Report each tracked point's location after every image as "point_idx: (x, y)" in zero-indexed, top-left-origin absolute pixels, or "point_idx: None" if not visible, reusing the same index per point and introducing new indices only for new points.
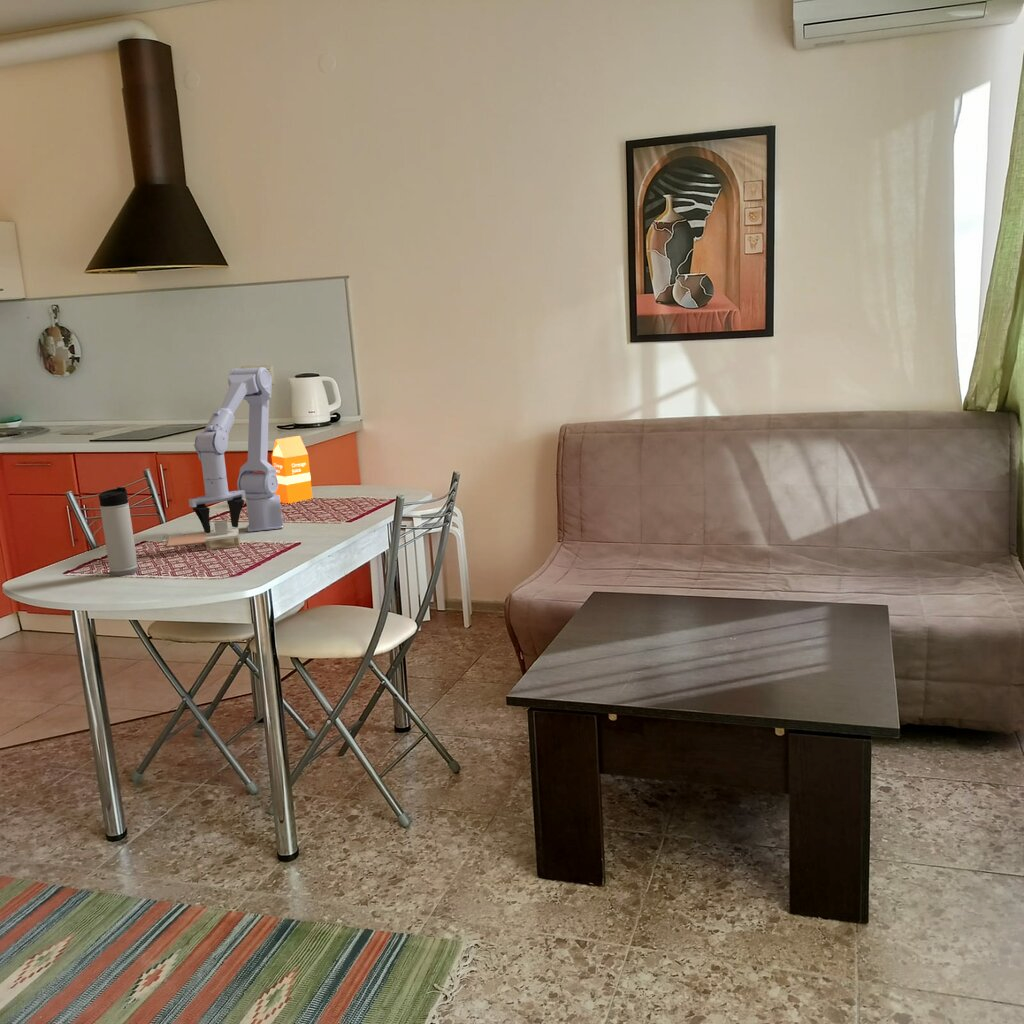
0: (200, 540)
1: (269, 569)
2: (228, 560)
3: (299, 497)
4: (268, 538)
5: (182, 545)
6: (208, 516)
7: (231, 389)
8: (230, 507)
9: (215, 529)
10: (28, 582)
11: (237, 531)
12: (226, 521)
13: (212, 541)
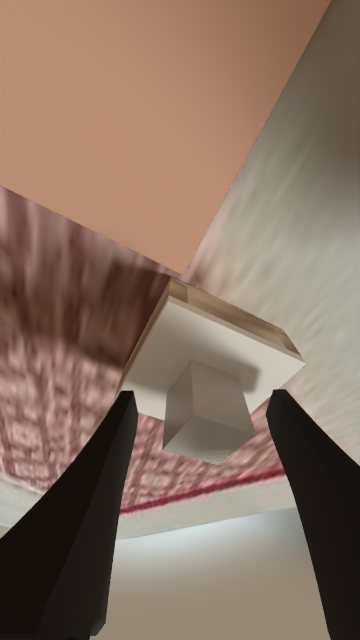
0: (155, 209)
1: (162, 518)
2: (133, 465)
3: None
4: (342, 385)
5: (50, 208)
6: (112, 527)
7: None
8: (341, 525)
9: (166, 418)
10: None
11: (264, 397)
12: (229, 455)
13: None
